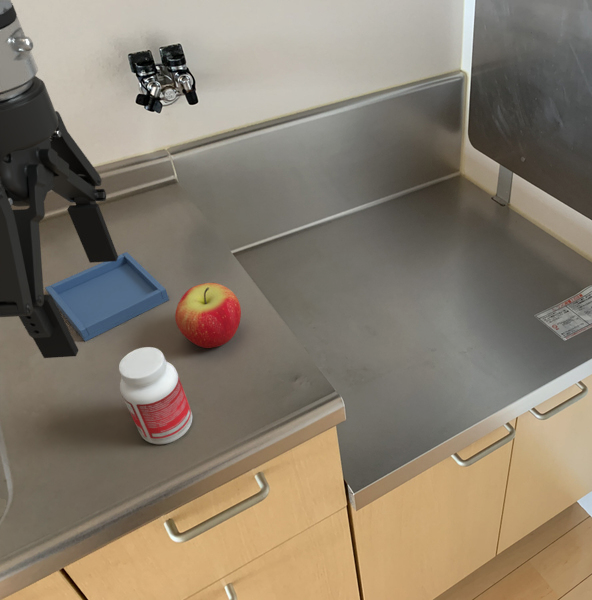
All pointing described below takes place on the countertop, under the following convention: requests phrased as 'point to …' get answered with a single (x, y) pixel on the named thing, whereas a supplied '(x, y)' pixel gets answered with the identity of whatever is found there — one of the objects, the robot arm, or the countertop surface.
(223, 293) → the apple
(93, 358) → the countertop surface
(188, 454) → the countertop surface
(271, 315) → the countertop surface
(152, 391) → the pill bottle
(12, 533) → the countertop surface
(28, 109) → the robot arm
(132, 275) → the medicine tray
